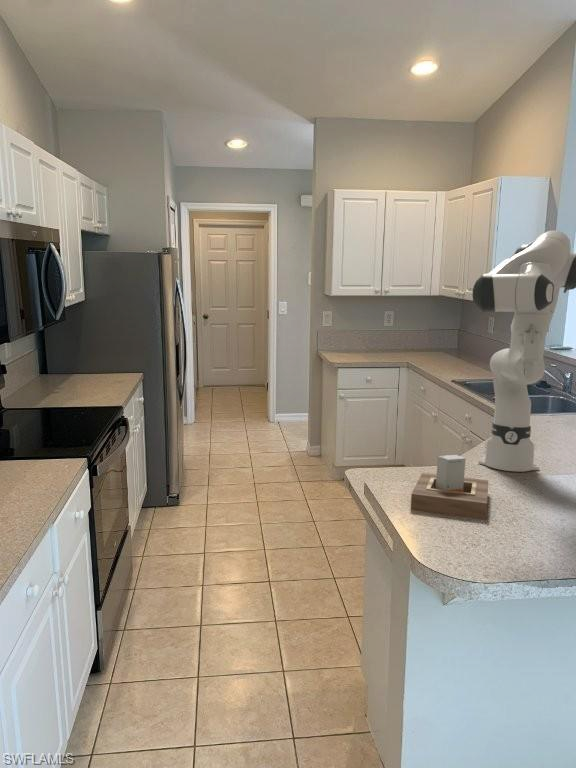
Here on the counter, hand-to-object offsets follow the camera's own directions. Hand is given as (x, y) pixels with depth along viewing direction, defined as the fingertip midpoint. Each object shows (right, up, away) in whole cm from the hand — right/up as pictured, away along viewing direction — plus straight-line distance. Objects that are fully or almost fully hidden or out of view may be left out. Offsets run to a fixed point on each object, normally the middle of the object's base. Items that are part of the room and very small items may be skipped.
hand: (527, 376), depth 155 cm
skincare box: (-22, -33, -2) cm, 40 cm away
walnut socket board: (-21, -33, -3) cm, 39 cm away
